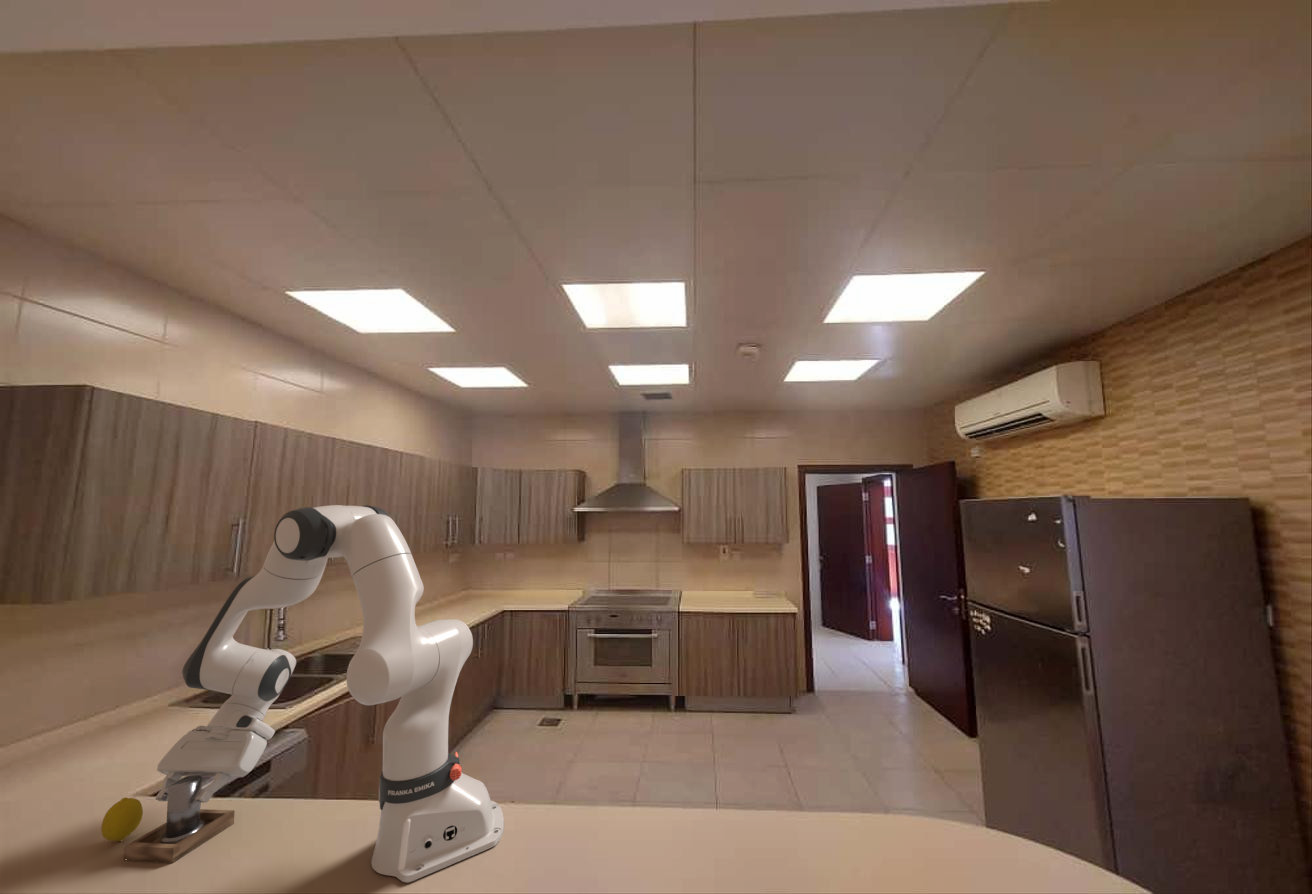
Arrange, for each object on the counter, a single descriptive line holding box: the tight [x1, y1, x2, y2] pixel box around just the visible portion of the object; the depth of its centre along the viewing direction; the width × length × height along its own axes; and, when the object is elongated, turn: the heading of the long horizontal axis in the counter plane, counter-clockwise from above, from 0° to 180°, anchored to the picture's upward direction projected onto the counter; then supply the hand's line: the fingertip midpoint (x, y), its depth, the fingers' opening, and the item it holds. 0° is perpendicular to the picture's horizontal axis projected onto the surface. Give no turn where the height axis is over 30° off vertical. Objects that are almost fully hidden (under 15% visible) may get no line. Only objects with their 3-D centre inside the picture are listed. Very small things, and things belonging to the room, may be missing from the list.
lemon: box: [100, 797, 144, 842], centre depth 95 cm, size 6×6×8 cm
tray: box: [123, 808, 235, 864], centre depth 94 cm, size 11×11×2 cm
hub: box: [161, 775, 204, 844], centre depth 95 cm, size 6×6×10 cm
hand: (180, 801), depth 94 cm, fingers open, 8 cm apart
